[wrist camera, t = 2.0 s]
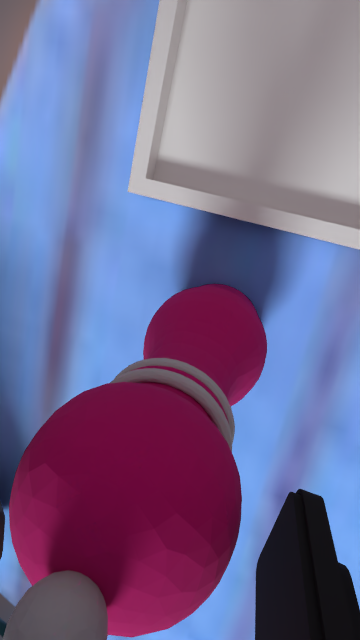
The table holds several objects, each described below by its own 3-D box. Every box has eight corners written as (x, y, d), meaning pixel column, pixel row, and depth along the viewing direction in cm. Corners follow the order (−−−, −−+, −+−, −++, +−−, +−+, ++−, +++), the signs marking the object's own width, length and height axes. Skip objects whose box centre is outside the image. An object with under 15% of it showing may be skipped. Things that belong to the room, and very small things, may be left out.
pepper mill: (188, 260, 23) (-166, 414, 4) (285, 301, 22) (389, 734, 3) (155, 346, 25) (-156, 684, 7) (241, 386, 24) (158, 907, 6)
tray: (578, -128, 14) (632, -189, 12) (399, 259, 19) (415, 263, 17) (201, -148, 17) (192, -200, 15) (140, 194, 22) (127, 191, 20)
